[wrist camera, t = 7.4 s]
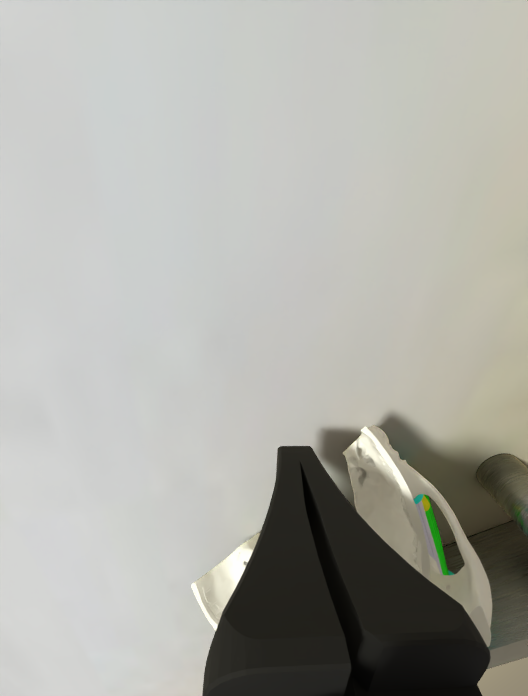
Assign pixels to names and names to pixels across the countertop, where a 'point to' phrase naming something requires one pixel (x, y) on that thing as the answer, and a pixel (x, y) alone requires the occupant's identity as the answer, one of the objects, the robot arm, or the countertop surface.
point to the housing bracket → (503, 558)
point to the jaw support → (383, 532)
